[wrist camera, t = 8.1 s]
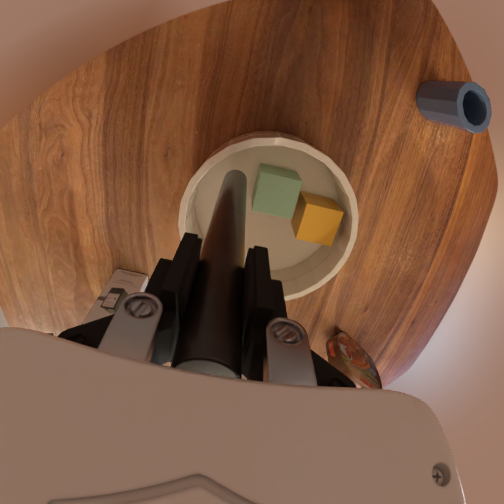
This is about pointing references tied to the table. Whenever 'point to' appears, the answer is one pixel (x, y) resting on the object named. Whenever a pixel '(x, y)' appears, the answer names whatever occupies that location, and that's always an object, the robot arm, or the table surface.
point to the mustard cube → (316, 218)
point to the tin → (352, 361)
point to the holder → (455, 104)
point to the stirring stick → (217, 290)
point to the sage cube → (276, 191)
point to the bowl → (269, 226)
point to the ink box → (116, 293)
